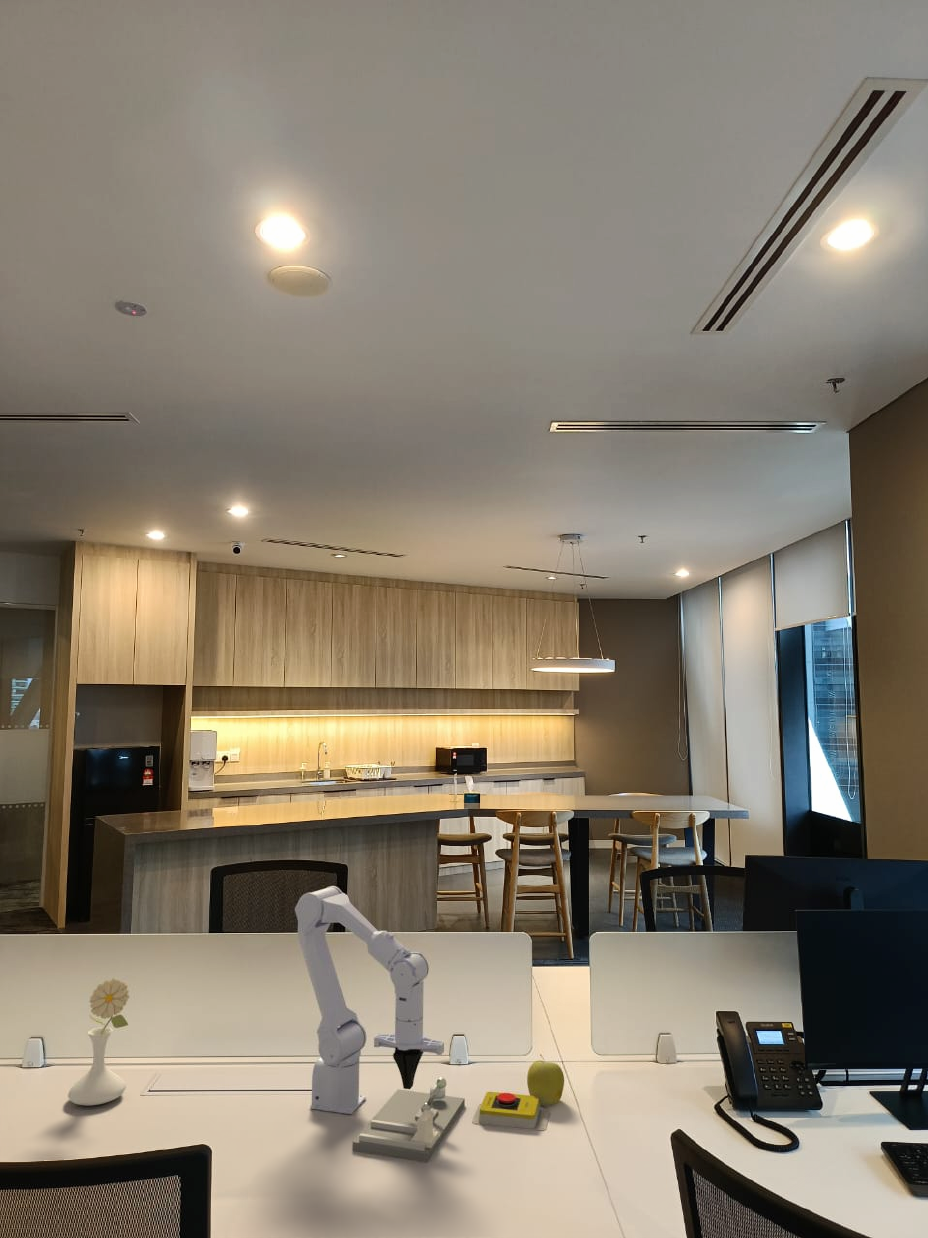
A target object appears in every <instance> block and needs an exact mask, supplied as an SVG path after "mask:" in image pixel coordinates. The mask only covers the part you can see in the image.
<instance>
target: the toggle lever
mask: <svg viewBox="0 0 928 1238" xmlns="http://www.w3.org/2000/svg"><path fill="white" fill-rule="evenodd" d="M435 1083H436V1084H435V1085H437V1086H436V1088H435V1090H434V1091H433V1093H432V1095H431V1096H430V1098H429V1100H428V1101H426V1102H425V1103H424V1105H423V1106H422V1108H421V1111H422V1113H423V1112H424V1110H429V1111H430V1109H431V1108H432V1106H433V1105H432V1103H433V1101H434V1100H435V1098H436V1096H437V1095H438V1093H439V1091H440V1090H441V1089H443V1088H445V1089H446V1086H447V1080H446V1078H444V1077H439V1078H438V1079H437V1080H436V1082H435Z"/></svg>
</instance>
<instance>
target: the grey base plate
mask: <svg viewBox="0 0 928 1238" xmlns="http://www.w3.org/2000/svg"><path fill="white" fill-rule="evenodd" d="M429 1098H430V1092H429V1093H428V1092H422V1091H420V1092H419V1091H414V1090H413V1091H412V1090H408V1089H400V1088H399V1089H397V1090H396V1091H394V1093H393V1094H392V1096H390V1098H389V1099H388V1100H387V1101H386V1102H385V1104H384V1105H382V1107H381V1108H380V1109H379V1111H378V1112H377V1113H376V1114H375V1115H374V1116H373V1117H372V1119H371V1120H369V1122H368V1123H367V1124H366V1125H365V1127H364V1128H363V1129H362V1131H361V1132H360V1133H359V1134H357V1136H356V1137H355V1138H354V1139H353V1140H352V1148H351V1149H352V1151H354V1152H360V1153H367V1154H374V1155H379V1156H384V1157H385V1156H387V1157H391V1158H392V1157H393V1158H398V1159H405V1160H411V1161H419V1162H423V1163H429V1161H430V1160H431V1158H432V1157H433V1156H434V1154H435V1153H436V1150H438V1148H439V1146H440V1145H441V1143H442V1142H443V1140H444V1138H445V1137H446V1135H447V1133H449V1130H450V1129H451V1128H452V1126H453V1124H454V1123H455V1121H456V1120H457V1118H458V1116H460V1114H461V1112H462V1111H463V1109H464V1108H465V1106H466V1105H465V1104H466V1103H465V1100H466V1099H465V1098H464V1097H459V1096H458V1097H456V1096H451V1095H450V1096H449V1095H445V1097H444V1098H443V1099H435V1100H434V1101H433V1103H432V1105H433V1106H432V1108H431V1109H430V1111H433V1131H436V1132H439V1137H438V1139H437V1140H436V1142H435V1143H434V1145H433V1146H432V1148H425V1143H421V1142H414V1141H411V1139H412V1138H413V1136H414V1135H415V1133H416V1132H417V1120H418V1118H419V1117H420V1116H421V1114H422V1111H421V1108H422V1106H423V1105H424V1103H425V1102H426V1101H428V1100H429Z"/></svg>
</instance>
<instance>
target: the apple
mask: <svg viewBox="0 0 928 1238" xmlns="http://www.w3.org/2000/svg"><path fill="white" fill-rule="evenodd" d="M539 1056H540V1057H541V1058H542V1059H543V1060H541V1059H540V1060H536V1061H534V1062H532V1064H531V1065H530V1066H529V1068H528V1070H527V1074H526V1075H527V1076H526V1083H527V1089H528V1093H529V1094H528V1095H530V1096H537V1097H539V1105H540V1107H541V1106H542V1107H548V1106H555V1105H557V1104H559V1102H560V1100H561V1099H562V1095H563V1091H564V1086H565V1076H564V1072H563V1070H562V1068H561V1066H560V1065H559V1064H557V1063H555V1062H551V1061H545V1059H544V1057H543V1055H542V1054H539Z"/></svg>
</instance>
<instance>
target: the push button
mask: <svg viewBox="0 0 928 1238" xmlns="http://www.w3.org/2000/svg"><path fill="white" fill-rule="evenodd" d="M436 1086H437V1084H433V1085H431V1086H430V1087H429V1094H430V1096H431V1095H432V1093H433V1091H434V1090H435V1088H436ZM445 1096H446V1087H445V1088H443V1089H441V1090H440V1091H439V1093H438V1095H437V1096H436V1098H435V1099H443V1098H444V1097H445Z"/></svg>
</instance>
